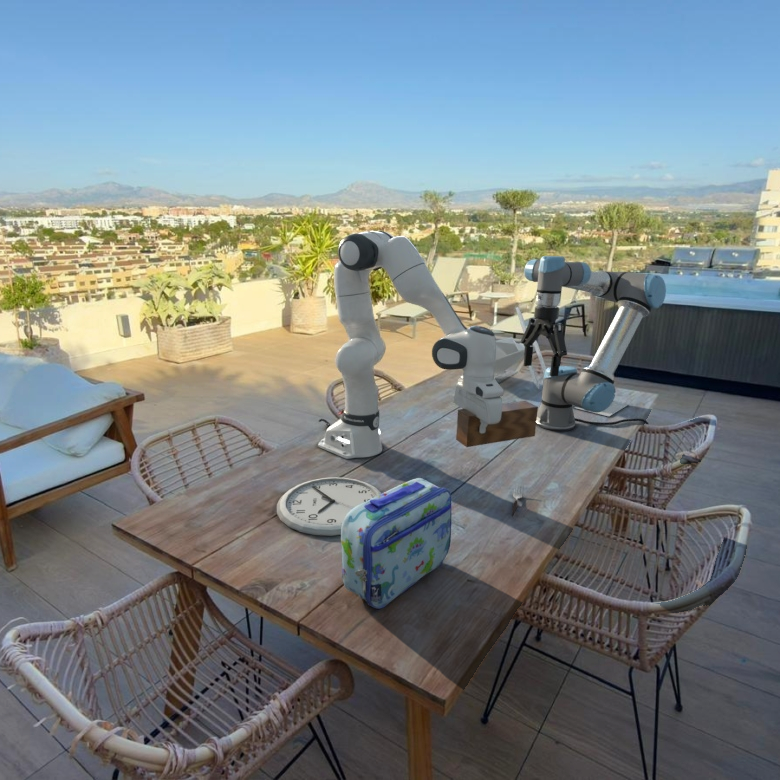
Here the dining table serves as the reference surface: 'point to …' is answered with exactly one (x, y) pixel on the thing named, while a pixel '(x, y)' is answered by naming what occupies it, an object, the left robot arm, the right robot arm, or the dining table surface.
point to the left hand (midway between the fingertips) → (474, 428)
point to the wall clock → (323, 504)
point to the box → (498, 425)
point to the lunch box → (395, 540)
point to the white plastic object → (515, 353)
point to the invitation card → (609, 409)
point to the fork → (517, 496)
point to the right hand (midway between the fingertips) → (540, 370)
